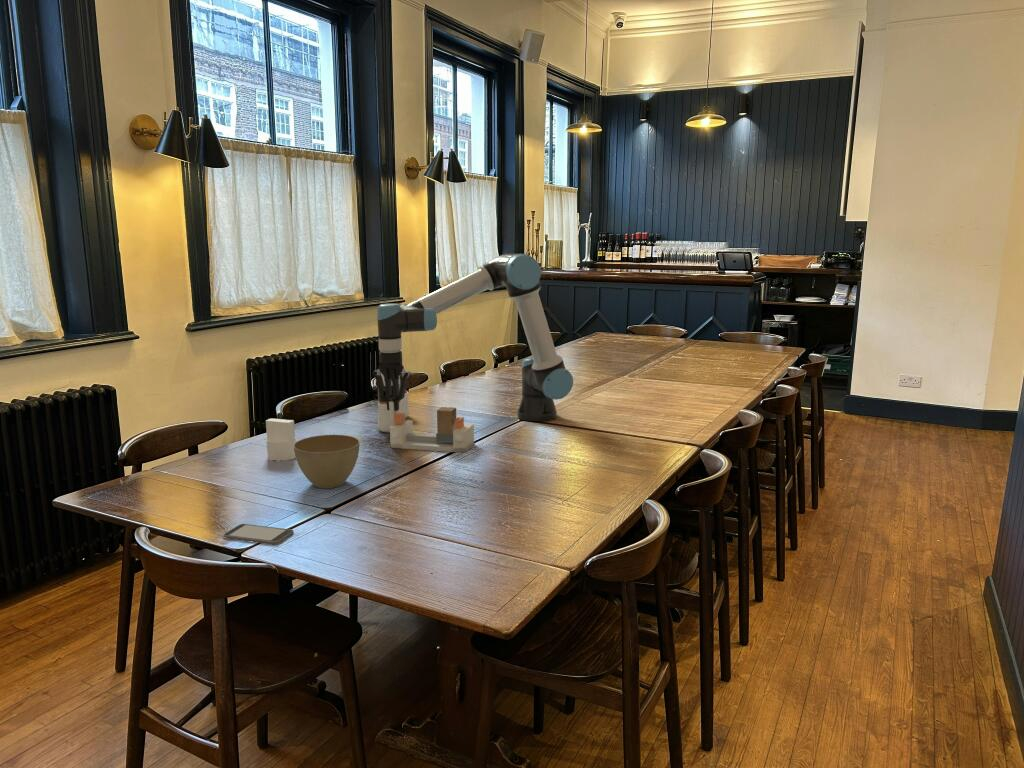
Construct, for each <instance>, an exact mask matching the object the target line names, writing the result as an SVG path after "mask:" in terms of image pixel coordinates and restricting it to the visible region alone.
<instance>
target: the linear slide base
mask: <svg viewBox="0 0 1024 768" xmlns="http://www.w3.org/2000/svg"><path fill="white" fill-rule="evenodd" d="M474 424H475V423H465V419H464V416H458V417H456V419H455V430H454V431H453V443H440V442H436V434H426V433H425V434H423V433H414V432H413V429H414V427H413V425H414V424H413V420H412V419H411V420H409V419H407V420H406V419H405V422H403V423H402V424H400V425H399V424H394V425H393V426H391V427H390V433H389V435H390V436H389V439H390V440H389V441H390V442H389V444H390V448H392V449H406V450H408V449H409V450H420V451H434V452H435V451H436V452H449V453H467V452H468V451H469V450H470V449H471V448H472V447H473V446H474V445H475V425H474Z"/></svg>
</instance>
